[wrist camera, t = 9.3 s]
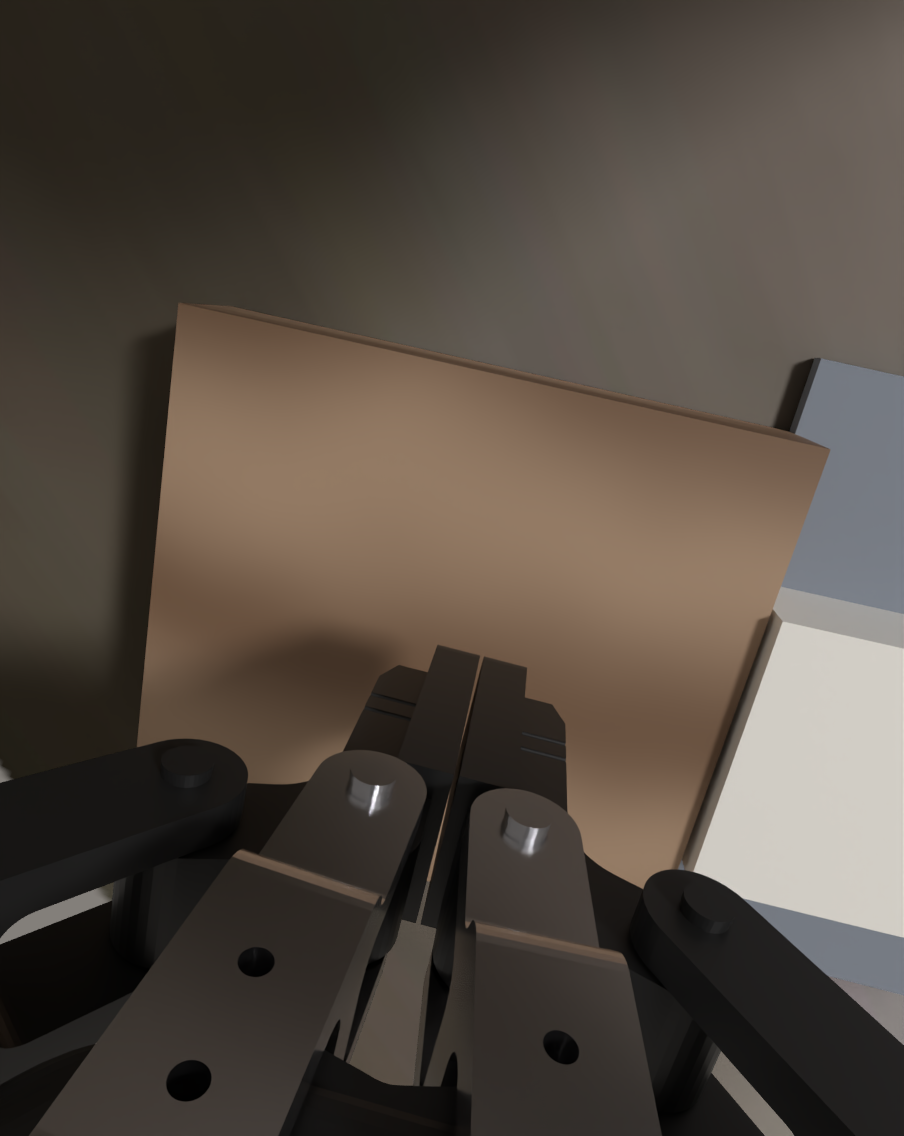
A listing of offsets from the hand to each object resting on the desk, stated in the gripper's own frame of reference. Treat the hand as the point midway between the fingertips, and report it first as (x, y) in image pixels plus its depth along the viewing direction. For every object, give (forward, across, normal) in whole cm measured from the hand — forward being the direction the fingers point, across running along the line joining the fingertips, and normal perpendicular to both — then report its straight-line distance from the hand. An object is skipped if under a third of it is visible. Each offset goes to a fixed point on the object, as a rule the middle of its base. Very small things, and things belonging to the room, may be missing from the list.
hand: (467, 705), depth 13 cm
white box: (+5, -10, +1) cm, 11 cm away
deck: (+5, +1, +1) cm, 5 cm away
